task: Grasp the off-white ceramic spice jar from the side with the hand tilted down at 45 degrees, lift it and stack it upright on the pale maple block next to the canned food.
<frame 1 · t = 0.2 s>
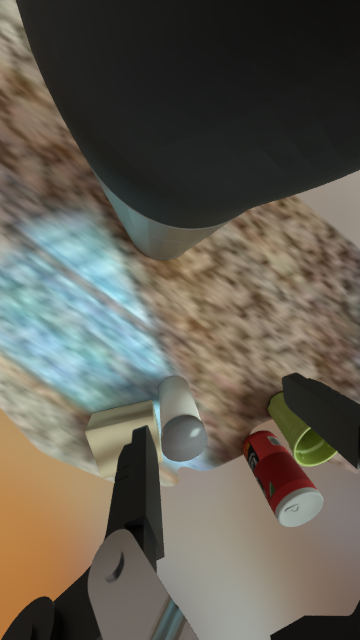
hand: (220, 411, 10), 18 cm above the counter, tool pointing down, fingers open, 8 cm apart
plant pot: (280, 403, 35), on the counter
canned food: (258, 442, 37), on the counter
maple base: (129, 429, 30), on the counter
spice jar: (174, 389, 30), on the counter
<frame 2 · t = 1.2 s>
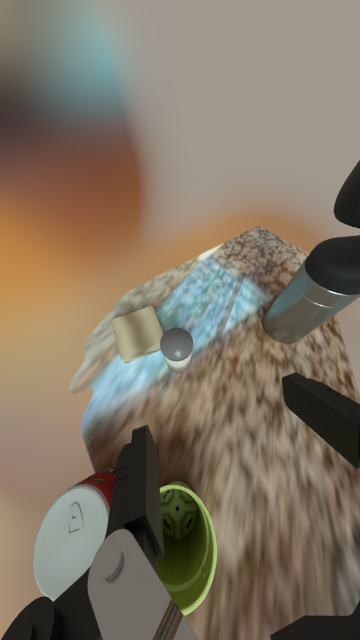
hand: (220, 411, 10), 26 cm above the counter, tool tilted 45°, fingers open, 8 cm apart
plant pot: (177, 507, 26), on the counter
canned food: (112, 496, 27), on the counter
maple base: (141, 336, 41), on the counter
spice jar: (178, 360, 38), on the counter
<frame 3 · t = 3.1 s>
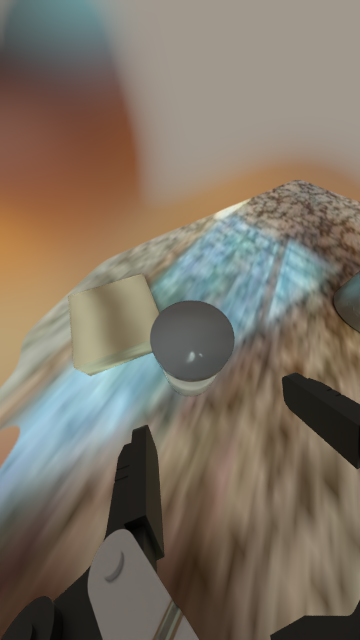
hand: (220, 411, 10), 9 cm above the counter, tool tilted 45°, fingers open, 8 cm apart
maple base: (123, 327, 23), on the counter
spice jar: (189, 371, 20), on the counter
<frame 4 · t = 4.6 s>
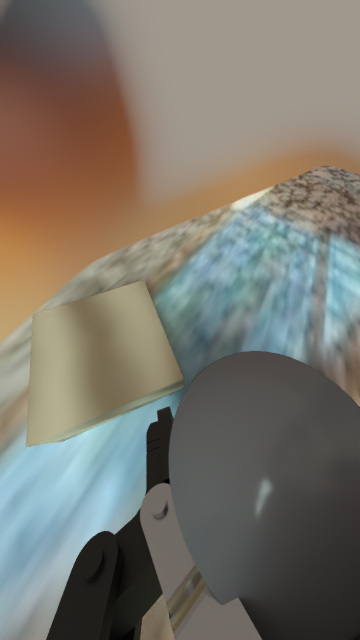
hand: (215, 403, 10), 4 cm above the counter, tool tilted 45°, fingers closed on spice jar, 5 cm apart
maple base: (115, 357, 16), on the counter
spice jar: (217, 434, 13), on the counter, touching gripper
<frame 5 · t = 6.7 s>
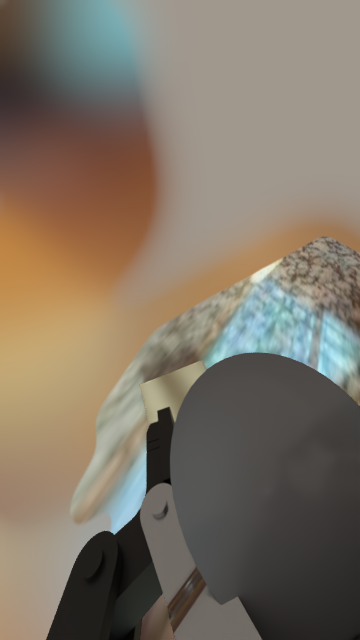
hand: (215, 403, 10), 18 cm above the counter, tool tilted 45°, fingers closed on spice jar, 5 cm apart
maple base: (184, 408, 26), on the counter
spice jar: (217, 434, 13), point 14 cm above the counter, touching gripper
when the fingers open (9 cm above the counter, at t = 9.1 s): spice jar drops 1 cm, resting on maple base.
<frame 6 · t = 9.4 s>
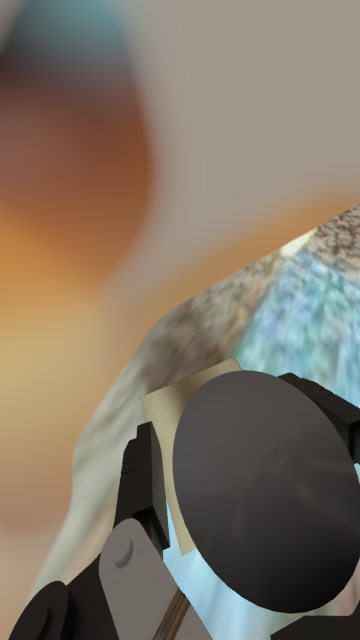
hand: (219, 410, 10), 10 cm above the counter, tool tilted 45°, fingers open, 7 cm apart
maple base: (209, 431, 17), on the counter
spice jar: (215, 435, 14), point 4 cm above the counter, touching maple base
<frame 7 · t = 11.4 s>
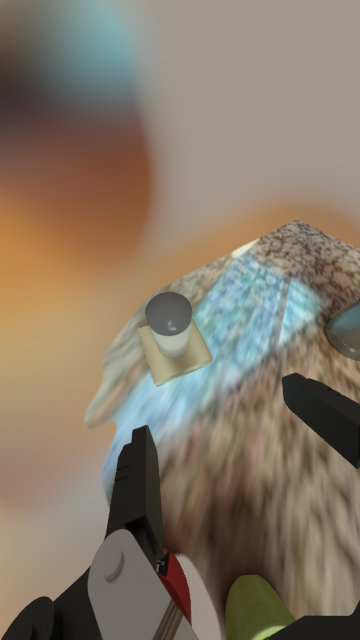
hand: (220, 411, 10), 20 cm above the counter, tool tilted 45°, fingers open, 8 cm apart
plant pot: (254, 619, 17), on the counter
canned food: (154, 597, 18), on the counter
maple base: (174, 350, 32), on the counter
spice jar: (173, 343, 29), point 4 cm above the counter, touching maple base
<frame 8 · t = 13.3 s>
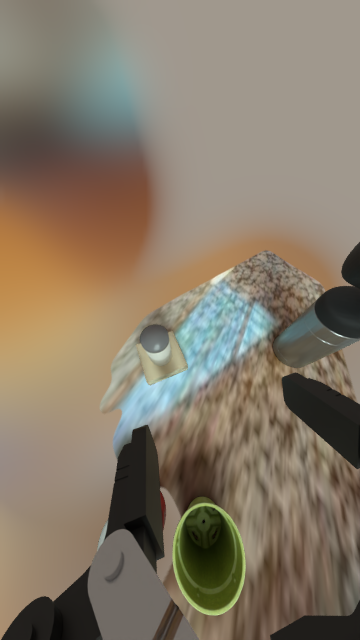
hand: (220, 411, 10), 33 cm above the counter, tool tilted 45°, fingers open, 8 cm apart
plant pot: (202, 520, 30), on the counter
maple base: (162, 359, 45), on the counter
spice jar: (161, 355, 42), point 4 cm above the counter, touching maple base
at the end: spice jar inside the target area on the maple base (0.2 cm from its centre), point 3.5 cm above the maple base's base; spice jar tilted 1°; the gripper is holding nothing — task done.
